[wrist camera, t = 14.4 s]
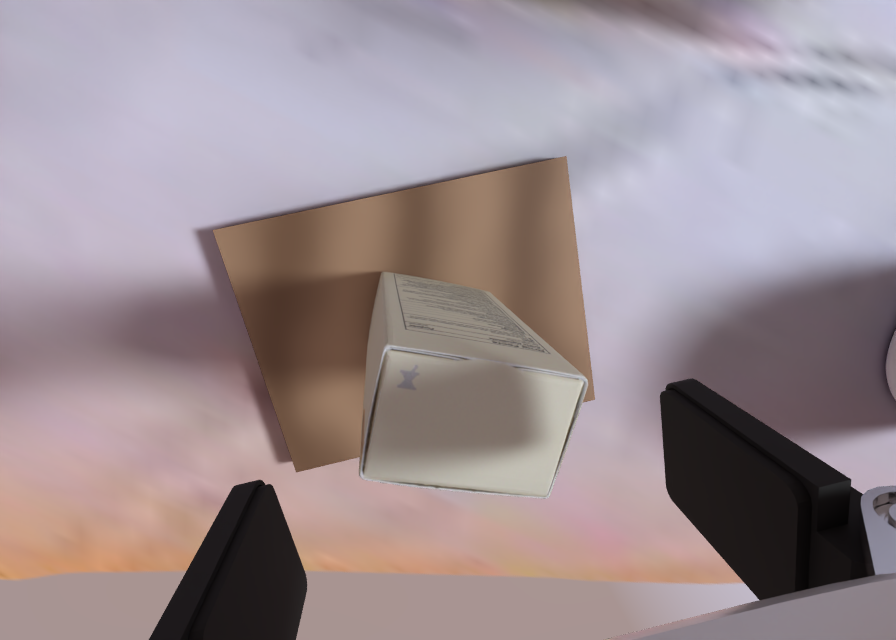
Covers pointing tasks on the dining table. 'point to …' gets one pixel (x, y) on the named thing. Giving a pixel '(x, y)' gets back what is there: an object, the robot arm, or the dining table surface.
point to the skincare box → (462, 393)
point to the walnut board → (402, 252)
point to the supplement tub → (891, 366)
